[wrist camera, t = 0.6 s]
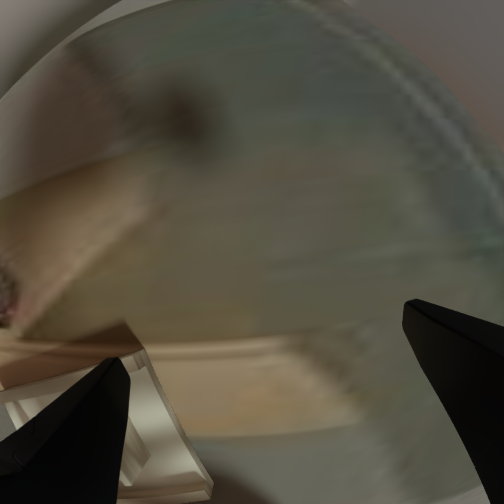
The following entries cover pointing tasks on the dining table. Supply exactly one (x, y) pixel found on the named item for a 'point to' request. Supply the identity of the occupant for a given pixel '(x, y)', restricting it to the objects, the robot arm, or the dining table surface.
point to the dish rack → (133, 435)
